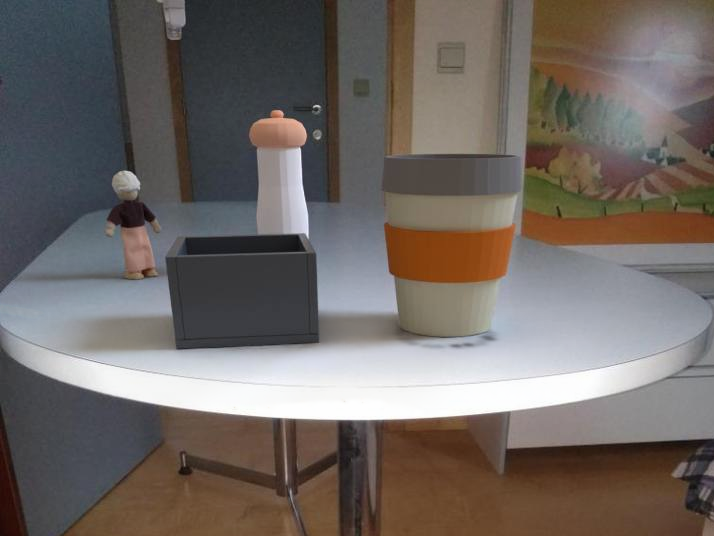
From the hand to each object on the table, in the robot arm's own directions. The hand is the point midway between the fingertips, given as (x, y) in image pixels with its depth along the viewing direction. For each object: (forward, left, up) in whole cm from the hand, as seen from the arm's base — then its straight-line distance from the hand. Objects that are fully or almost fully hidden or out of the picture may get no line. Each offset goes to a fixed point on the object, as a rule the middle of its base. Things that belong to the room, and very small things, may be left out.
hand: (176, 33), depth 89 cm
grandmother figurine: (-7, -8, -28) cm, 30 cm away
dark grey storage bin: (+7, -37, -28) cm, 47 cm away
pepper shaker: (+12, -8, -28) cm, 31 cm away
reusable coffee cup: (+26, -39, -28) cm, 54 cm away
